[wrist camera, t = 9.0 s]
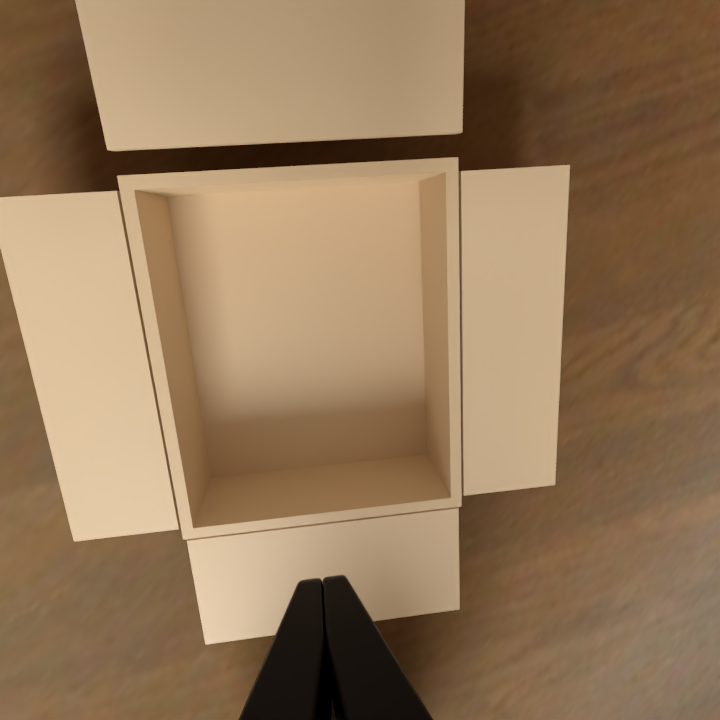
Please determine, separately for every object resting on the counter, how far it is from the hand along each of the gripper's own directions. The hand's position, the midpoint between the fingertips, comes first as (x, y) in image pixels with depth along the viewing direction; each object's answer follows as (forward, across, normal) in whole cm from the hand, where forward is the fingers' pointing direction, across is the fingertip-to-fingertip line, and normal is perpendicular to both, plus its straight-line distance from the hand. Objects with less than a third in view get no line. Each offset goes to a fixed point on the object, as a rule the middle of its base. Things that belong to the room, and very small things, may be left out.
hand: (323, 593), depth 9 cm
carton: (+12, 0, +2) cm, 12 cm away
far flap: (+9, 0, -7) cm, 11 cm away
